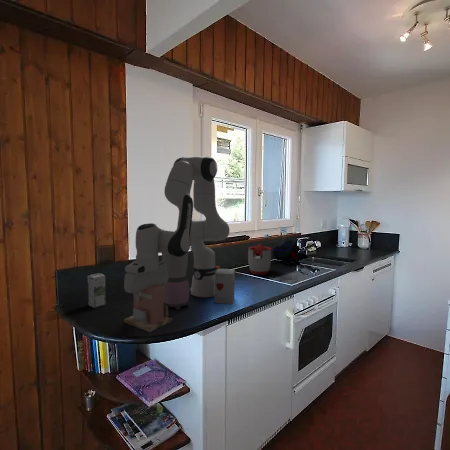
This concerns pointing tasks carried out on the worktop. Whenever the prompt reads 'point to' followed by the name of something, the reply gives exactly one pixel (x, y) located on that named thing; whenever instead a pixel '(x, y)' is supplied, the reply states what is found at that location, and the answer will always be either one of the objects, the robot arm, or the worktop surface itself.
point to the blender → (176, 281)
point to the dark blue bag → (289, 253)
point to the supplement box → (224, 286)
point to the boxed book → (151, 303)
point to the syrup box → (96, 290)
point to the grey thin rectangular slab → (140, 316)
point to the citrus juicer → (259, 259)
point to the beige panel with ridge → (150, 326)
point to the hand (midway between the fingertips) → (148, 298)
